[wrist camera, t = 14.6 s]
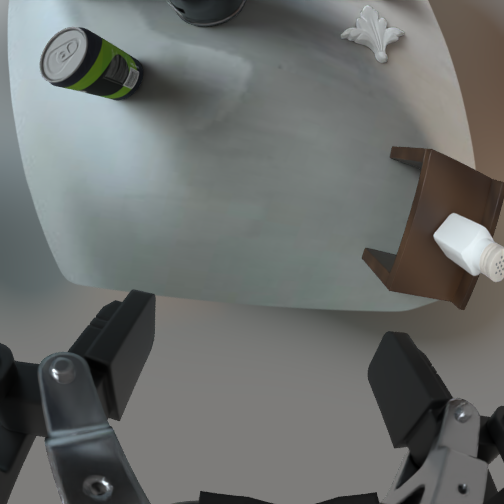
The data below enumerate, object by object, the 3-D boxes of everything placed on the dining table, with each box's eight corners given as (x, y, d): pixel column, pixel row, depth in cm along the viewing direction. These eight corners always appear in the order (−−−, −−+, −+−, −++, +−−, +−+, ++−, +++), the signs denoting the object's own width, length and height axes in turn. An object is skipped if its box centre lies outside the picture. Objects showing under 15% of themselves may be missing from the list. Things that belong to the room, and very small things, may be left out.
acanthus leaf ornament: (338, 38, 30) (342, 33, 29) (357, 5, 28) (360, 0, 27) (387, 67, 31) (392, 64, 30) (403, 33, 29) (408, 30, 27)
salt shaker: (451, 209, 27) (506, 234, 18) (466, 233, 28) (518, 263, 19) (429, 235, 28) (481, 268, 20) (446, 257, 29) (494, 294, 20)
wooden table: (392, 146, 35) (441, 149, 24) (452, 171, 36) (507, 184, 24) (361, 258, 40) (395, 299, 29) (422, 271, 41) (464, 310, 29)
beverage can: (133, 49, 31) (77, 12, 17) (152, 82, 33) (98, 53, 19) (97, 76, 32) (31, 55, 18) (115, 109, 34) (48, 98, 20)
